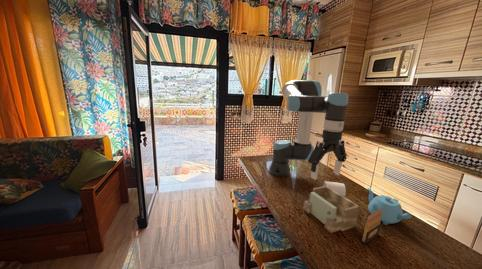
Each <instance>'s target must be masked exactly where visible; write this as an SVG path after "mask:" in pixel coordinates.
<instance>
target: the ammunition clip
mask: <svg viewBox="0 0 482 269" xmlns="http://www.w3.org/2000/svg"><path fill="white" fill-rule="evenodd" d="M381 215H382V209H380V210H378V211H376V212H374V213H373V214H371V213H370V214H369V215H368V216H367V219H366V221H365V224H364V228H363V229H362V232H361V233H362V234H361V237H360V241H361V242H363V243H365V244H367V243H368V242H369V241H371V240H372V239H373V238H375V237H377V236H378V235H379V234H380V229H381V223H382V221H381Z"/></svg>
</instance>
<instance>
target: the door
mask: <svg viewBox="0 0 482 269" xmlns="http://www.w3.org/2000/svg"><path fill="white" fill-rule="evenodd" d="M309 195H310V200H309V204H311V209H310V213H309V214H311V215H313V216H314V217H315V218H316V219H318V220H319V221H320V222H321V223H322V224H324V225H325V220H326V218H328V219H330V220H331V221H335V216H336V210H337V207H335V206H334V205H332V204H331V203H329V202H328V201H326V200H325V199H323V198H322V197H321V196H319V195H318V194H316V193H315V192H313V191H311V192H310V193H309Z"/></svg>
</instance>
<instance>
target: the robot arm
mask: <svg viewBox="0 0 482 269" xmlns="http://www.w3.org/2000/svg"><path fill="white" fill-rule="evenodd" d="M281 93H282V96H283V97H284V98H286V110H287V111H288V112H293V113H296V112H299V113H298V114H299V115H298V122H297V130H296V132H297V133H296V138H295V139H293V142H292V141H291V140H288V139H280V140H276V141H275V142H274V143H273V148H272V160H271V162H270V166H268V167H269V168H268V172H269V174H271V173H272V174H274V175H273V176H275V175H276V177H280V176H282V178H283V177H285V178H286V177H288V176H290V175H291V168H290V160H292V161H303V162H304V161H307V162H308V163H309V164H311V165H310V166H311V167H310V171H311V172H310V178H312V179H313V180H314V181H317V178H318V172H319V166H320V165H319V162H321V160H322V159H323V158H324V156H326V154H328V153H330V152H333V154H334V156H335V158H336V159H335V162H334V167H333V174H335V175H337V176H340V174H341V169H342V164H343V163H345V162H346V160H347V159H348V157H347V152H346V148H345V147H346V146H345V140H344V139H342V137H343V130H344V126H345V120H346V115H347V109H348V104H349V94H348V93H347V92H346V93H345V92H329V93H328V96H327V95H324V96H323V95H322V85H321V82H320V81H318V80H313V79H312V80H311V79H310V80H307V79H302V80H301V79H292V80H290V81H288V82H285V84H284V85H282V88H281ZM314 113H319V114H320V113H321V114H324V120H323V130H322V135H321V138H322V141H319V140H317V141H316V143H315V147H314V145H313V143H312V141H311V140H310V138H311V130H312V123H313V116H314ZM272 174H271V175H272Z"/></svg>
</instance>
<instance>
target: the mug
mask: <svg viewBox="0 0 482 269" xmlns="http://www.w3.org/2000/svg"><path fill="white" fill-rule="evenodd" d="M323 186H327V187H328V188H330V189H332V190H333V191H335V192H337V193H338V194H340V195H342V196H343V197H345V198H346V191H347V188H346V185H345V183H342V182H334V181H327V180H325V181H323V184H322V187H323Z"/></svg>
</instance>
